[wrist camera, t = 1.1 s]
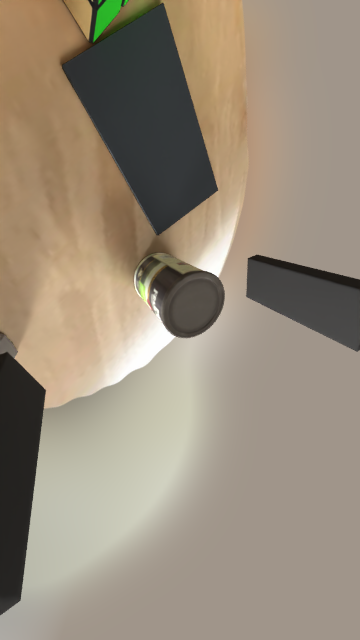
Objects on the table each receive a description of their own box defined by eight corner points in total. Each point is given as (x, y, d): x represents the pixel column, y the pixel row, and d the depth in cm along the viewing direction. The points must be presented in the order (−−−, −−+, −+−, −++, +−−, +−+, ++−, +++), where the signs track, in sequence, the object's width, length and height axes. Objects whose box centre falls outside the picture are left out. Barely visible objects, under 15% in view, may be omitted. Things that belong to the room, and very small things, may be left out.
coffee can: (144, 311, 39) (173, 349, 28) (125, 264, 33) (152, 290, 22) (186, 291, 42) (227, 320, 31) (175, 244, 36) (222, 259, 25)
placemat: (62, 68, 21) (61, 64, 20) (161, 6, 22) (163, 2, 21) (156, 235, 33) (158, 235, 33) (216, 190, 35) (218, 190, 34)
